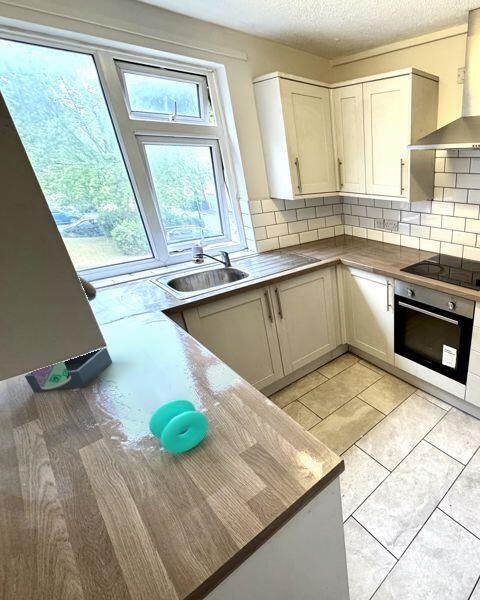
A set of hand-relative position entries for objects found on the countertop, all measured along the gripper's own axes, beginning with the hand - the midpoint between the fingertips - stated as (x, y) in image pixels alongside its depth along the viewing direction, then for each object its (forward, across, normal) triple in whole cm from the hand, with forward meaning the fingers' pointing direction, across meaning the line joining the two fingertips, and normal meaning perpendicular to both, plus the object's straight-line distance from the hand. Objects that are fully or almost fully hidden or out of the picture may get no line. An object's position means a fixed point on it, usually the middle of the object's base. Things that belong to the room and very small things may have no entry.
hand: (30, 346), depth 74 cm
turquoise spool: (+18, +25, +26) cm, 40 cm away
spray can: (-3, 0, +12) cm, 12 cm away
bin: (-29, -6, +26) cm, 40 cm away
